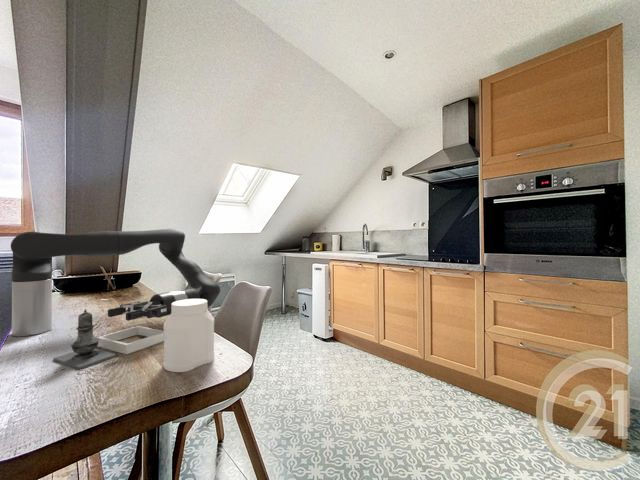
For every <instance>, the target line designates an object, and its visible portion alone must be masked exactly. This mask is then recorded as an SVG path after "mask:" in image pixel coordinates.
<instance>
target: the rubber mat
mask: <svg viewBox="0 0 640 480" xmlns="http://www.w3.org/2000/svg"><path fill="white" fill-rule="evenodd" d="M93 351H97V352H98V353H99V354H98V355H96V356H94V357H92V358H88V359H84V360H72V357H73V356H75V355H76V354H78V353H75V352H74V351H72V352H68V353H65V354H62V355H58V356H56V357H53V361H54V362H57V363H59V364H62V365H66V366H68V367H71V368H74V369H76V370H82V369H84V368H88V367H90V366H94V365H96V364H99V363H102V362H105V361H108V360H111V359H113V358H116V357H117V354H116V353H114V352H113V353H112V352H109V351H105V350H102V349H98V348H97V347H96V348H95V349H94V350H93Z"/></svg>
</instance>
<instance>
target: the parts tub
mask: <svg viewBox="0 0 640 480" xmlns="http://www.w3.org/2000/svg"><path fill="white" fill-rule="evenodd" d="M137 335H138V336H143V337H145V338H141V339H138V340H134V341H131V342H129V343H127V342H123V341H121V340H123V339H124V340H125V339H127V338H130V337H134V336H137ZM95 338H99V339H100V341H99V342H98V346H97V347H98V348H101V349H106V350H108V351H113V352H117V353H121V354H123V355H129V354H131V353H135V352H138V351H140V350H143V349H145V348H149V347H151V346H155V345H157V344H160V343H164V330H161V329H156V328H151V327H147V326H143V325H136V326H133V327H128V328H125V329H122V330H118V331H115V332H111V333H107V334H104V335H100V336H96V337H95Z"/></svg>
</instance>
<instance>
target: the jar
mask: <svg viewBox="0 0 640 480" xmlns="http://www.w3.org/2000/svg"><path fill="white" fill-rule="evenodd" d="M171 307H172V308H171V309H172V310H171V314H170V315H168V317H167V318H166V321H164V323H163V331H164V341H163V365H162V366H163V369H165V370H166V371H168V372H171V373H185V372H190V371H192V370H194V369H196V368H198V367H200V366H203V364H204V365H207V363H208V364H211V363H213V362H214V359H215V318H214V316H213V315H212V314H211V312H210V311H209V310H208V308H209V307H208V306H207V300H205V299H185V300H179V301H175V302H173V303H172V304H171ZM207 307H208V308H207Z"/></svg>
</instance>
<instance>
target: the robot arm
mask: <svg viewBox="0 0 640 480" xmlns="http://www.w3.org/2000/svg"><path fill="white" fill-rule="evenodd" d="M185 240H186V235H185V233H184V232H183V231H181V230H179V229H176V228H175V229H174V228H164V229H161V228H160V229H150V230H134V231H133V230H132V231H131V230H130V231H129V230H128V231H123V230H122V231H120V230H111V231H110V230H103V231H101V230H100V231H88V232H79V233H55V232H54V233H52V232H51V233H50V232H40V231H26V232H22V233H19V234H18V235H16V236H15V237H14V238H13V239H12V240H11V243H10V249H11V251H12V269H11V336H12V335H14V336H13V337H26V336H27V337H29V336H34V335H38V334H43V333H45V332H48V331H51V330H52V329H53V326H52V325H53V258H54V257H65V256H90V257H92V256H95V257H102V256H108V257H109V256H120V255H122V256H123V255H125V254H129V253H131V252H133V251H137V250H138V249H140V248H142V247H144V246H145V247H146V246H149V245H153V244H158V250H159V252H160V253H161V254H162V255H163V257H164V258H165V259H166V260H168V261H169V262H170V264H172V265H173V266H174V267H175V269H177V270H178V271H179V273H180V274H181V275H182V277H183V278H184V280H185V281H186V282H187V284H188V285H189V286H190V288H187V289H182V290H173V291H168V292H161V293H156V294H154V295H152V296H151V298H150V299H149V301H148V300H145V301H139V300H138V301H134V302H130V303H124V304H119V307H114V308H110V309H107V317H108V318H113V317H117V316H121V315H125V320H126V321H128V322H129V321H133V320H137V319H153V318H156V319H158V318H163V317H167V316H170V314H171V310H172V309H171V308H172V307H171V304H172V303H173V302H175V301H179V300H185V299H205V300H207V306H208V307H207V308H209V307H211V306H212V305H214V303H215V301H216V300H217V298H218V297H219V295H220V293H221V286H220V284H219V283H217V282H216V281H214V280H213V279H212V278H211V277H209V276H207V275H206V273H205V272H204V271H203V270H202V268H201V267H200V266H199V265H198V264H197V263H196V262H195V261H192V260H189V259H187V258H186V257H185V256H184V253H183V251H182V250H183V247H184V243H185ZM198 289H199V290H198Z"/></svg>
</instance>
